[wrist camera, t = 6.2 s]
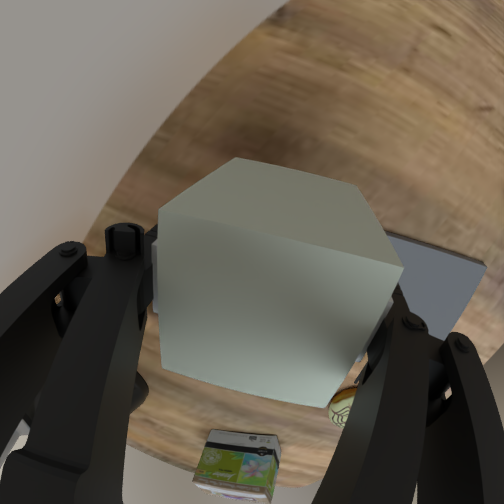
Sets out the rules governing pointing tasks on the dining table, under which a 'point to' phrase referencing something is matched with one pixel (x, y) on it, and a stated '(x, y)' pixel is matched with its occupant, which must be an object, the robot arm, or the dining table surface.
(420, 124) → the dining table surface
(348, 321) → the sage block
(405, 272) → the slate plate
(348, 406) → the decorated donut
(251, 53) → the dining table surface
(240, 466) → the tea box
